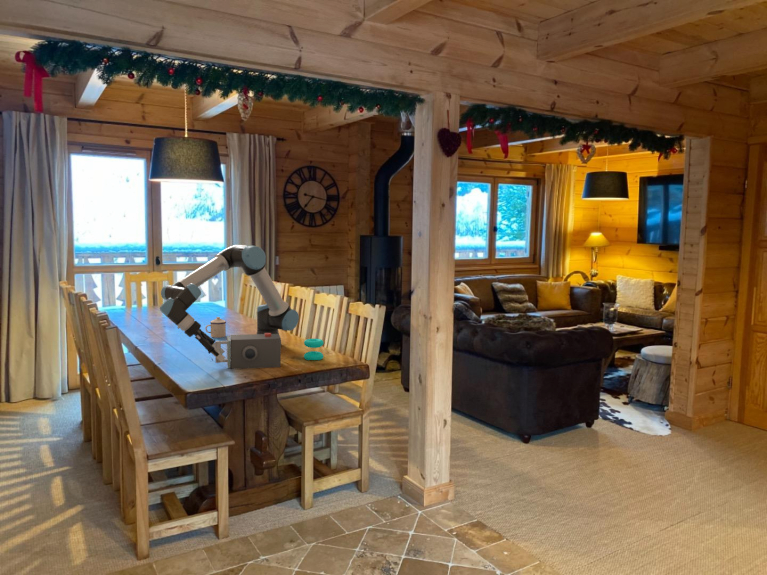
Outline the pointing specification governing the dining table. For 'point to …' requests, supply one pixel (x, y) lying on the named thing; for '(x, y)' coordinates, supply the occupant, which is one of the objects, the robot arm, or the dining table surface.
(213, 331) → the teacup with lid
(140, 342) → the dining table surface
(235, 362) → the camera body
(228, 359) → the side door
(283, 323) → the robot arm
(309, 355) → the donuts
